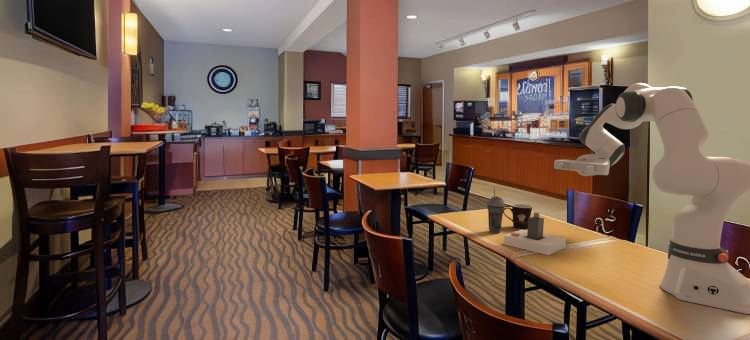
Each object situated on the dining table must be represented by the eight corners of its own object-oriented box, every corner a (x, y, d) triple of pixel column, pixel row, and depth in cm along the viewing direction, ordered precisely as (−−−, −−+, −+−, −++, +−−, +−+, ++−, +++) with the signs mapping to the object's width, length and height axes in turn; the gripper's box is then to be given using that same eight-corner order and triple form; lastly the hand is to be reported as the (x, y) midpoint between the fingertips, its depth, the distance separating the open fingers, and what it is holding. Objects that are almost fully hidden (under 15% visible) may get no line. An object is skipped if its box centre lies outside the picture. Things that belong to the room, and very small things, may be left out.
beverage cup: (504, 235, 182) (506, 188, 179) (486, 233, 183) (488, 187, 180) (502, 230, 189) (505, 185, 186) (485, 229, 190) (487, 184, 188)
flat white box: (565, 247, 165) (566, 236, 164) (548, 255, 155) (549, 243, 155) (521, 237, 178) (522, 227, 177) (503, 244, 168) (504, 233, 168)
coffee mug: (534, 227, 194) (535, 206, 193) (525, 231, 188) (527, 208, 187) (509, 223, 202) (511, 202, 201) (501, 226, 196) (502, 204, 195)
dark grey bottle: (542, 246, 167) (544, 213, 165) (536, 248, 164) (538, 214, 162) (532, 243, 170) (534, 211, 168) (526, 245, 166) (528, 212, 165)
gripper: (562, 155, 186) (547, 157, 177) (614, 159, 171) (601, 161, 162) (561, 170, 187) (546, 172, 177) (612, 175, 172) (599, 178, 163)
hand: (573, 167), depth 170 cm, fingers open, 8 cm apart
